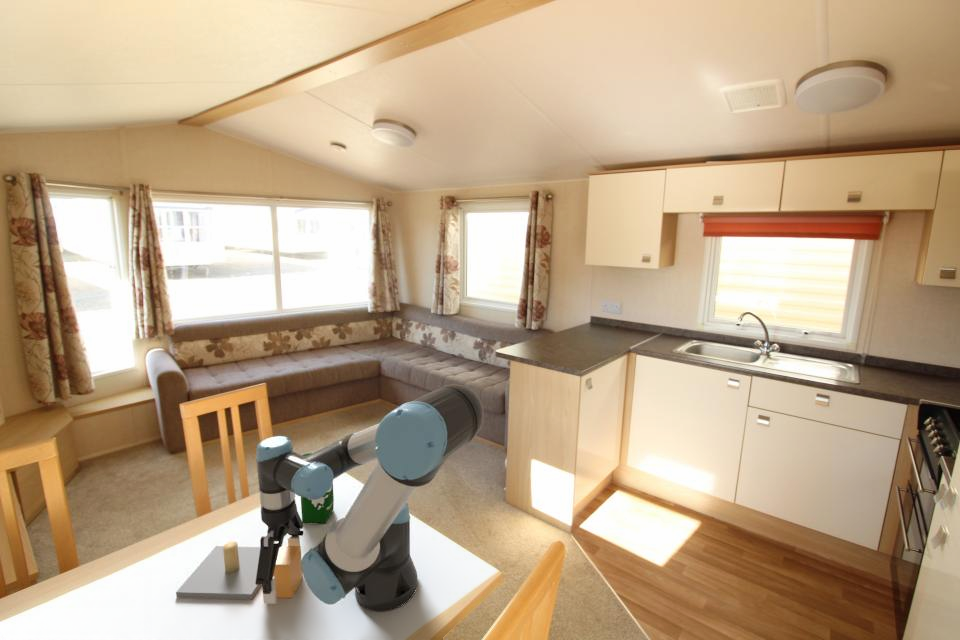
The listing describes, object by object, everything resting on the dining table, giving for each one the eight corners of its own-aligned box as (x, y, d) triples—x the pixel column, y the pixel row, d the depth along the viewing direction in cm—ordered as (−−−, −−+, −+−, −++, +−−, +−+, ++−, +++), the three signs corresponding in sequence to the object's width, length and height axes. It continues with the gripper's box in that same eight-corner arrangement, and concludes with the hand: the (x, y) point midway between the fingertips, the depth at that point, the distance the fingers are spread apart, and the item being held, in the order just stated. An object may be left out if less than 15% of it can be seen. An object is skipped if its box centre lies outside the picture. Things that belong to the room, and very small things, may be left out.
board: (282, 552, 122) (280, 526, 120) (251, 599, 106) (249, 570, 105) (216, 551, 122) (213, 524, 120) (176, 597, 106) (172, 568, 105)
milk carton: (309, 507, 142) (305, 449, 138) (337, 508, 142) (334, 450, 138) (297, 525, 133) (293, 463, 129) (328, 526, 133) (324, 464, 129)
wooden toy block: (302, 577, 113) (300, 546, 111) (291, 598, 107) (289, 564, 105) (277, 577, 113) (275, 545, 111) (265, 597, 107) (262, 564, 105)
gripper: (285, 473, 118) (290, 544, 122) (232, 536, 93) (240, 622, 97) (313, 474, 118) (317, 545, 122) (268, 537, 93) (275, 623, 97)
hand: (283, 579), depth 110 cm, fingers open, 13 cm apart
